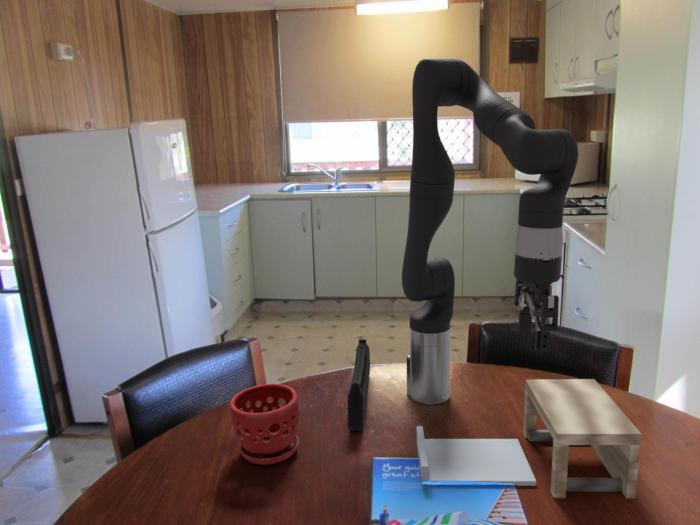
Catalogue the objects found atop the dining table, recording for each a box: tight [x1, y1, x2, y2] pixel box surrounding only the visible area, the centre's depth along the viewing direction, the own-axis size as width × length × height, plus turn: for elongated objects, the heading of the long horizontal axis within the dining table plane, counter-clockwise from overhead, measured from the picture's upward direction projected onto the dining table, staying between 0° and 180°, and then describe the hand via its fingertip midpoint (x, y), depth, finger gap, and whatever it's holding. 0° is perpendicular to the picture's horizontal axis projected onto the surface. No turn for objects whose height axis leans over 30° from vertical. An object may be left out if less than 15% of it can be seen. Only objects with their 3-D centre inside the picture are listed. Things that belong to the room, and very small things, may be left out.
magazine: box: [347, 338, 371, 431], centre depth 131 cm, size 17×3×30 cm
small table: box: [522, 378, 642, 500], centre depth 105 cm, size 14×21×12 cm, turn 177°
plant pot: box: [229, 383, 300, 466], centre depth 112 cm, size 13×13×12 cm
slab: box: [416, 425, 537, 487], centre depth 107 cm, size 20×14×4 cm
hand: (532, 341), depth 100 cm, fingers open, 8 cm apart
